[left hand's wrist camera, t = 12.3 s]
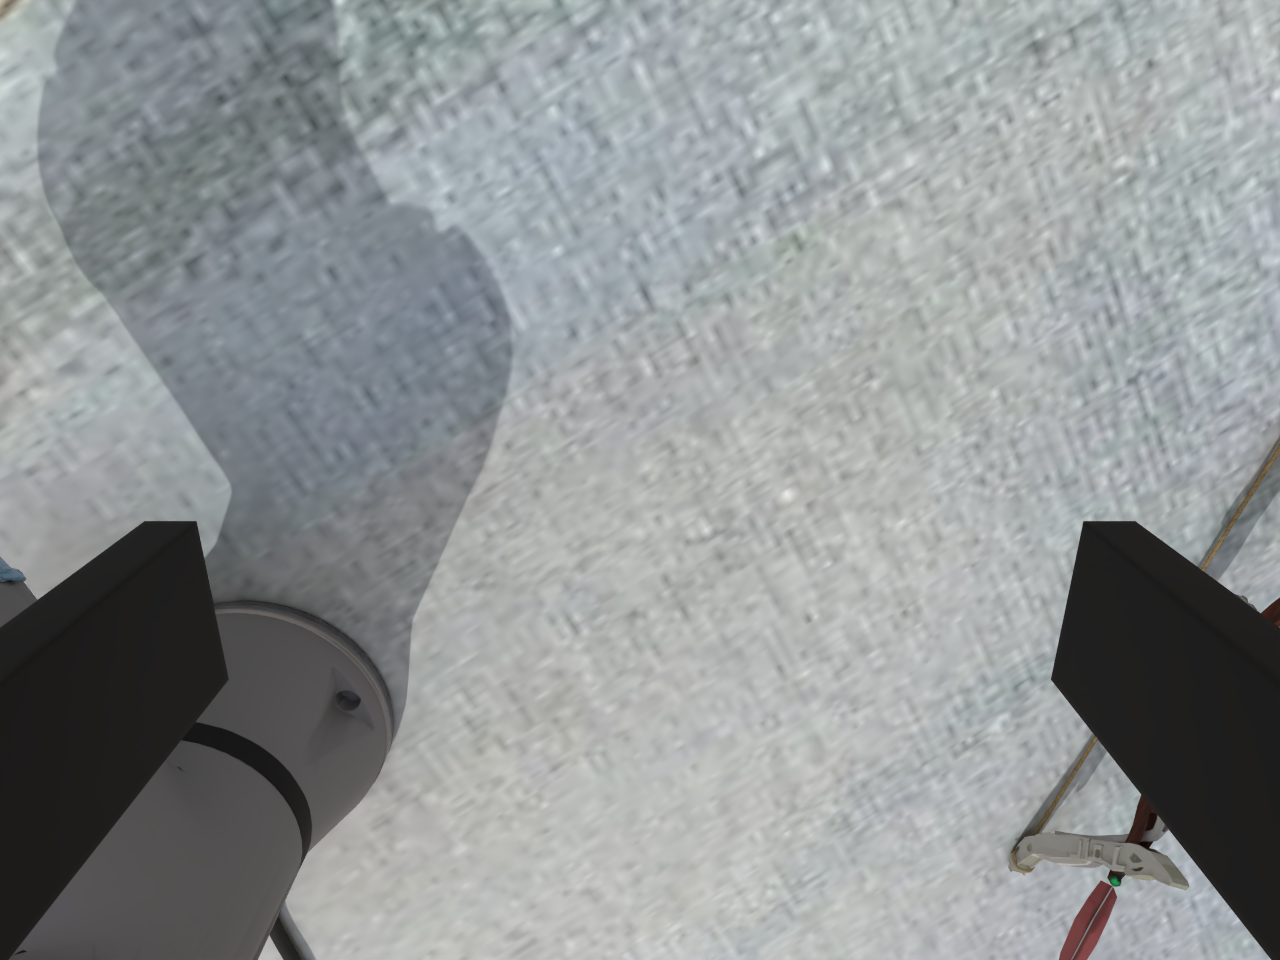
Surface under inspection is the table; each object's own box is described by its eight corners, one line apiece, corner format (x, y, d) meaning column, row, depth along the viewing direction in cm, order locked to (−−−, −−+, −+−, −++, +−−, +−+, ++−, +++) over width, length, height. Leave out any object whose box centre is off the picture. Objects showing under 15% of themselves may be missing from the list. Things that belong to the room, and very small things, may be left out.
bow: (1330, 331, 42) (1524, 381, 33) (1361, 342, 43) (1563, 394, 33) (985, 885, 56) (1054, 1033, 46) (1010, 892, 56) (1084, 1040, 46)
